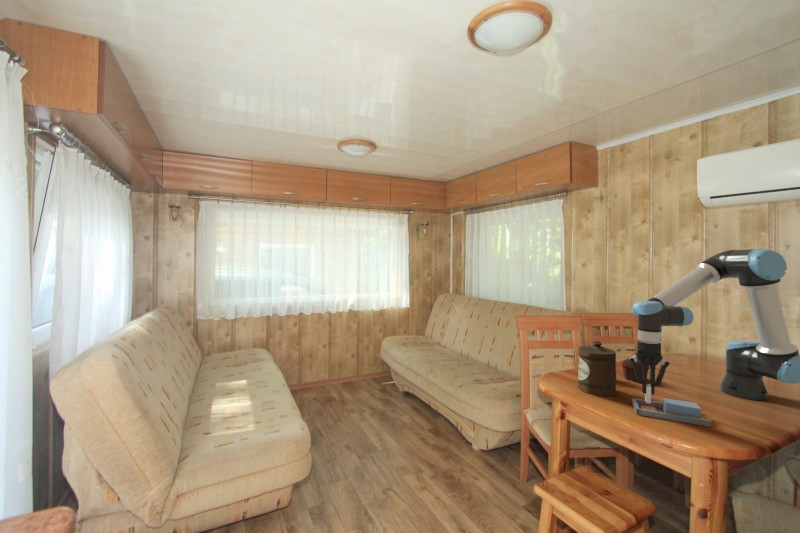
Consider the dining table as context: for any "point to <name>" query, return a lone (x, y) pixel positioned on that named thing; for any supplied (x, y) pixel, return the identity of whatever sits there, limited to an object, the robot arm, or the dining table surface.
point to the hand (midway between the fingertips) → (647, 401)
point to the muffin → (632, 369)
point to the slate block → (681, 408)
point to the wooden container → (597, 370)
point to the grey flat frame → (650, 411)
